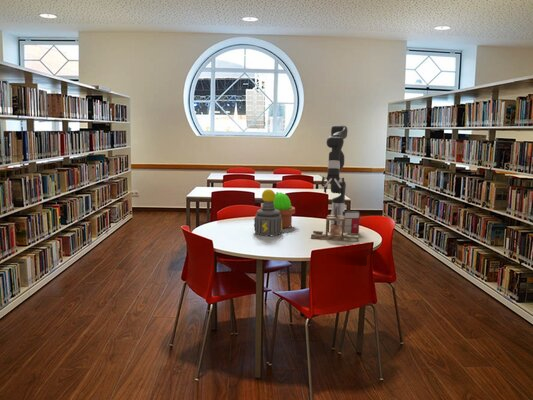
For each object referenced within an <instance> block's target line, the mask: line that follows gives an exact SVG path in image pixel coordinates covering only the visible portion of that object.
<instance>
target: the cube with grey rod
mask: <svg viewBox="0 0 533 400" xmlns="http://www.w3.org/2000/svg"><path fill="white" fill-rule="evenodd" d="M337 209H338V206H335V214H334V217H337ZM340 232H341V226H340V224H337V221H334V224H331V225H330V224H329V232H328V235H332V236H341V233H342V232H341V233H340ZM322 235H326V231H324V232H323V234H322ZM343 236H348V233H343Z"/></svg>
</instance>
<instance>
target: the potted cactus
mask: <svg viewBox="0 0 533 400" xmlns="http://www.w3.org/2000/svg"><path fill="white" fill-rule="evenodd" d="M273 202H274V203H273V204H274V207H275V209H277V210H279V211H280V215H281V218H282V229H287V228H290V227H292V221H293V217H292V216H293V215H294V214H295V213H296V207H295V206H292V203H291V200H290V198H289V196H288V195H287V194H286V193H284V192H275V199H274V201H273Z"/></svg>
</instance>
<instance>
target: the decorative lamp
mask: <svg viewBox="0 0 533 400" xmlns="http://www.w3.org/2000/svg"><path fill="white" fill-rule="evenodd" d="M275 194H276V192H275V191H274V190H272V189H269V188H268V189H264V191H262V194H261V199H262V201H263V203H262V207H261V208H260V209H257V210H256V213H255V215H254V218H253V220H254V224H253V227H254V233H255V234H256V235H258V234H260V235H259V236H263V235H275V236H278V234H279V235H281V234H282V230H283V228H282V218H281V215H280V211H279V210H277V209H275V207H274V204H273V203H274V202H273V201H274V199H275Z"/></svg>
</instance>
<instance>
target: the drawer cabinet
mask: <svg viewBox="0 0 533 400" xmlns="http://www.w3.org/2000/svg"><path fill="white" fill-rule="evenodd" d="M325 219H326V220H325V231H322V230H321V231H320V230H313V231H312V234H311V235H310V238H311V239H313V240H314V239H316V240H329V241H330V240H332V241H348V242H359V236H360V233H348V236H343V233H344V229H345V216H342V215H337V217H334V215H331V214H328V215H327V216H326V218H325ZM331 220H332V221H342V226H341V231H340V233H341V236H332V235H328V232H330V223H331ZM323 232H326V235H322V234H323Z"/></svg>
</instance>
